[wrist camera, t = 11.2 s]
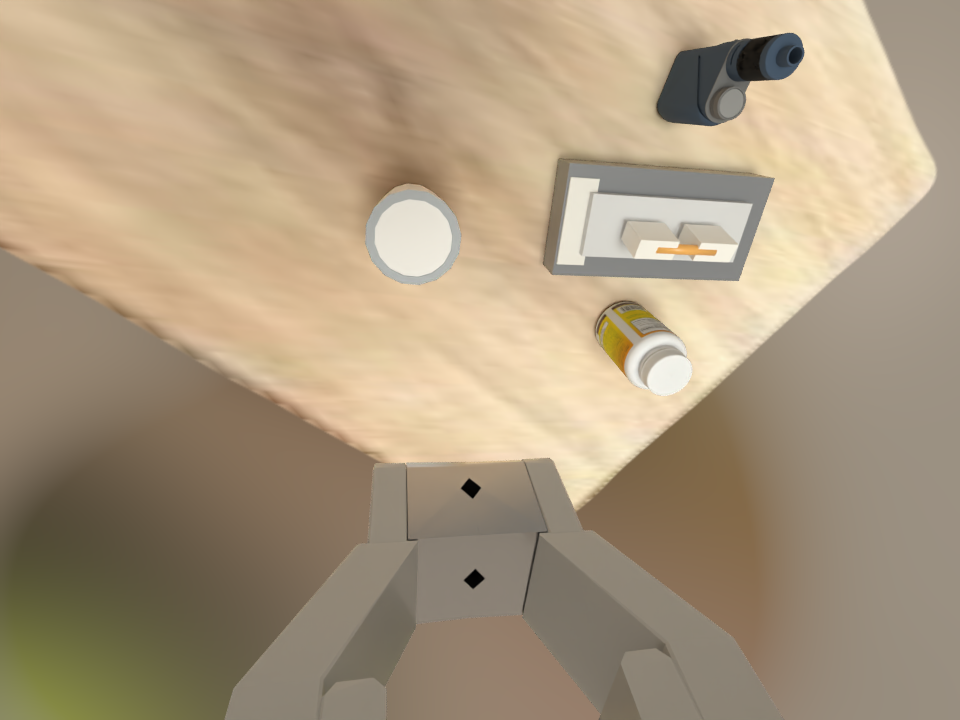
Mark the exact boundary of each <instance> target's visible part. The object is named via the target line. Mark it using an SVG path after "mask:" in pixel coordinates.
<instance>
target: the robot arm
mask: <svg viewBox="0 0 960 720" xmlns="http://www.w3.org/2000/svg"><path fill="white" fill-rule="evenodd" d="M510 615H523V619H524V620H525V621H526V622H527V624H528V625H529V626H530V627H531V629H532V630H533V631H534V632H535V634H536V635H537V636H538V637H539V639H540V640H541V641H542V642H543V643H544V645H545V646H546V647H547V648H548V650H549V651H550V652H551V653H552V655H553V656H554V657H555V658H556V659H557V661H558V662H559V663H560V664H561V666H562V667H563V668H564V669H565V671H566V672H567V673H568V674H569V676H570V677H571V678H572V679H573V680H574V682H575V683H576V684H577V685H578V687H579V688H580V689H581V690H582V691H583V693H584V694H585V695H586V696H587V698H588V699H589V700H590V701H591V703H592V704H593V705H594V706H595V707H596V709H597V710H598V711H599V712H600V714H601V715H600V718H599V720H784V719H783V717H782V715H781V714H780V712H779V710H778V709H777V707H776V706H775V704H774V702H773V701H772V699H771V697H770V696H769V694H768V693H767V691H766V689H765V688H764V686H763V685H762V683H761V682H760V680H759V678H758V676H757V675H756V673H755V672H754V670H753V668H752V667H751V665H750V664H749V662H748V660H747V659H746V657H745V655H744V654H743V652H742V651H741V649H740V647H739V646H738V644H737V642H736V641H735V639H734V638H733V637H732V636H730V635H729V634H728V633H726V632H725V631H724V630H723V629H721V628H720V627H719V626H717V625H716V624H715V623H713V622H712V621H711V620H709V619H708V618H707V617H705V616H704V615H703V614H702V613H700V612H699V611H698V610H696V609H695V608H693V607H692V606H691V605H690V604H688V603H687V602H686V601H684V600H683V599H682V598H680V597H679V596H678V595H677V594H675V593H674V592H673V591H671V590H670V589H669V588H667V587H666V586H665V585H663V584H662V583H661V582H659V581H658V580H657V579H656V578H654V577H653V576H652V575H650V574H649V573H648V572H646V571H645V570H644V569H642V568H641V567H640V566H639V565H637V564H636V563H635V562H633V561H632V560H631V559H629V558H628V557H627V556H625V555H624V554H623V553H621V552H620V551H619V550H617V549H616V548H615V547H614V546H612V545H611V544H610V543H608V542H607V541H605V540H604V539H603V538H602V537H600V536H599V535H598V534H596V533H595V532H594V531H592V530H591V531H583V528H582V526H581V524H580V522H579V519H578V517H577V514H576V512H575V510H574V508H573V505H572V503H571V501H570V498H569V496H568V494H567V491H566V489H565V487H564V484H563V482H562V480H561V477H560V475H559V473H558V470H557V468H556V466H555V463H554V461H552V460H551V459H550V458H539V459H522V460H509V461H483V462H427V463H406V464H405V463H378V464H375V466H374V469H373V478H372V492H371V505H370V517H369V531H368V543H366V544H357V545H356V546H355V548H354V549H353V550H352V551H351V552H350V553H349V555H348V556H347V557H346V558H345V559H344V561H343V562H342V563H341V564H340V565H339V566H338V567H337V569H336V570H335V571H334V572H333V574H332V575H331V576H330V577H329V578H328V579H327V580H326V581H325V583H324V584H323V585H322V586H321V587H320V589H319V590H318V591H317V592H316V593H315V594H314V595H313V597H312V598H311V599H310V600H309V601H308V602H307V604H306V605H305V606H304V607H303V608H302V609H301V611H300V612H299V613H298V614H297V615H296V617H295V618H294V619H293V620H292V621H291V622H290V623H289V624H288V626H287V627H286V628H285V629H284V630H283V631H282V633H281V634H280V635H279V636H278V637H277V638H276V640H275V641H274V642H273V643H272V644H271V645H270V647H269V648H268V649H267V650H266V651H265V653H264V654H263V655H262V656H261V657H260V658H259V660H258V661H257V662H256V663H255V664H254V665H253V667H252V668H251V669H250V670H249V671H248V672H247V673H246V675H245V676H244V677H243V678H242V679H241V680H240V682H239V683H238V684H237V685H236V686H235V687H234V689H233V693H232V696H231V699H230V703H229V706H228V710H227V713H226V717H225V720H387V695H386V694H387V692H386V691H387V690H386V688H385V686H386V684H387V682H388V680H389V678H390V676H391V674H392V672H393V671H394V669H395V666H396V665H397V663H398V661H399V659H400V657H401V655H402V653H403V651H404V649H405V648H406V646H407V644H408V642H409V640H410V638H411V636H412V634H413V632H414V630H415V628H416V624H421V623H429V622H438V621H446V620H455V619H464V618H474V617H475V618H476V617H493V616H510Z"/></svg>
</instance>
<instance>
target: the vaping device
mask: <svg viewBox="0 0 960 720" xmlns="http://www.w3.org/2000/svg"><path fill="white" fill-rule="evenodd" d="M803 57H804V48H803V44H802V41H801V39H800V38H799V37H798V36H797V35H796V34H793V33H785V34H779V35H773V36H767V37H761V38H755V39H742V40H735V41H731V42H726V43H722V44H720V45H717V46H712V47H706V48H700V49H694V50H688V51H682V52H680V53H679V54H678V56H677V57H676V59H675V62H674V64H673V67H672V69H671V71H670V74H669V76H668V79H667V81H666V83H665V86H664V88H663V91H662V93H661V95H660V98H659V100H658V104H657V108H658V112H659V114H660V115H661V116H662V118H663V119H665V120H666V121H668V122H672V123H682V124H693V125H704V126H715V125H718V124H721V123H724V122H726V121H728V120H732V119H734V118H736V117H737V116H738V115H739V114H740V113H741V112H742V110H743V109H744V106H745V103H746V95H745V91H746V89H747V87H748V85H749V83H750V81H764V80H780V79H784V78H786V77H788V76H789V75H791V74H792V73H793V72H794V71H795V69H796V68H797V67H798V65H799V63H800V62H801V61H802V59H803Z"/></svg>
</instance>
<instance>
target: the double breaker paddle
mask: <svg viewBox="0 0 960 720" xmlns="http://www.w3.org/2000/svg"><path fill="white" fill-rule="evenodd" d="M621 240H622V241H623V243H624V244H625V246H626V247H627V249H628V250H629V252H630V253H631V255H632V256H633V258H634V259H657V260H672V259H673V257H674V254H676V255H688V256H689V257H690V258H691V259H692V261H706V262H730V260H731V258H732V256H733V254H734V252H735V251H736V249H737V247H738V244H737V243H736V242H735V241H734V240H733V238H732V237H731V236H730V235H729V234H728V233H727V232H726V231H725V230H724V229H723V228H722V227H721V226H711V225H692V224H685V225H684V227H683V229H682V232H681V234H680V236H679V238H678V239H677V238H676V236H675V235H674V234H673V233H672V232H671V230H670V229H669V228H668V227H667V225H666V224H665V223H656V222H638V221H627V224H626V227H625V229H624V232H623V235H622V238H621Z"/></svg>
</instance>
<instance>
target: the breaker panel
mask: <svg viewBox="0 0 960 720" xmlns="http://www.w3.org/2000/svg"><path fill="white" fill-rule="evenodd" d="M774 179H775V178H771V177H766V176H762V175H757V174H752V173H740V172H727V171H714V170H701V169H688V168H674V167H661V166H648V165H635V164H622V163H609V162H596V161H583V160H570V159H559V160H558V167H557V174H556V181H555V187H554V194H553V201H552V208H551V214H550V221H549V228H548V235H547V241H546V248H545V255H544V262H543V265H544V266H545V267H546V268H547V269H548V270H549V272H550V273H551V274H552V275H575V276H605V277H635V278H664V279H694V280H724V281H739V278H740V275H741V273H742V270H743V267H744V264H745V261H746V258H747V256H748V253H749V250H750V247H751V244H752V241H753V239H754V236H755V233H756V230H757V227H758V224H759V222H760V219H761V216H762V213H763V210H764V207H765V205H766V202H767V199H768V196H769V193H770V190H771V188H772V185H773V182H774ZM627 221H638V222H656V223H665V224H666V225H667V227H668V228H669V229H670V230H671V232H672V233H673V234H674V235H675V236H676V238H677V239H678V238H679V236H680V234H681V232H682V229H683V227H684V225H685V224H692V225H711V226H721V227H722V228H723V229H724V230H725V231H726V232H727V233H728V234H729V235H730V236H731V237H732V238H733V240H734V241H735V242H736V243H737V244H738V247H737V249H736V251H735V252H734V254H733V256H732V258H731V260H730V262H706V261H692V259H691V258H690V257H689V256H688V255H676V254H674V257H673V259H672V260H657V259H634V258H633V256H632V255H631V253H630V252H629V250H628V249H627V247H626V246H625V244H624V243H623V241H622V240H621V238H622V235H623V232H624V229H625V227H626V224H627Z"/></svg>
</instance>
